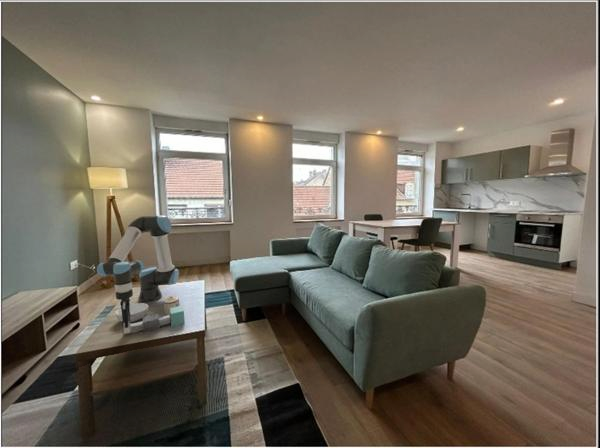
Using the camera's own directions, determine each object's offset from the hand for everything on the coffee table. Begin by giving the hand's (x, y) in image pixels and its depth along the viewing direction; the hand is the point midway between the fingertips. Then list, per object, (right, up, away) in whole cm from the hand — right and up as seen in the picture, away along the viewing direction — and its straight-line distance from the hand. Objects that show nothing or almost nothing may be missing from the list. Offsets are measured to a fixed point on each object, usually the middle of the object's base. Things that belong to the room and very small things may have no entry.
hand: (127, 330), depth 134 cm
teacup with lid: (+11, +1, +27) cm, 29 cm away
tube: (+8, 0, +5) cm, 10 cm away
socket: (+21, 0, +13) cm, 25 cm away
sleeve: (+10, -1, +6) cm, 12 cm away
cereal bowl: (-9, -1, +17) cm, 19 cm away
